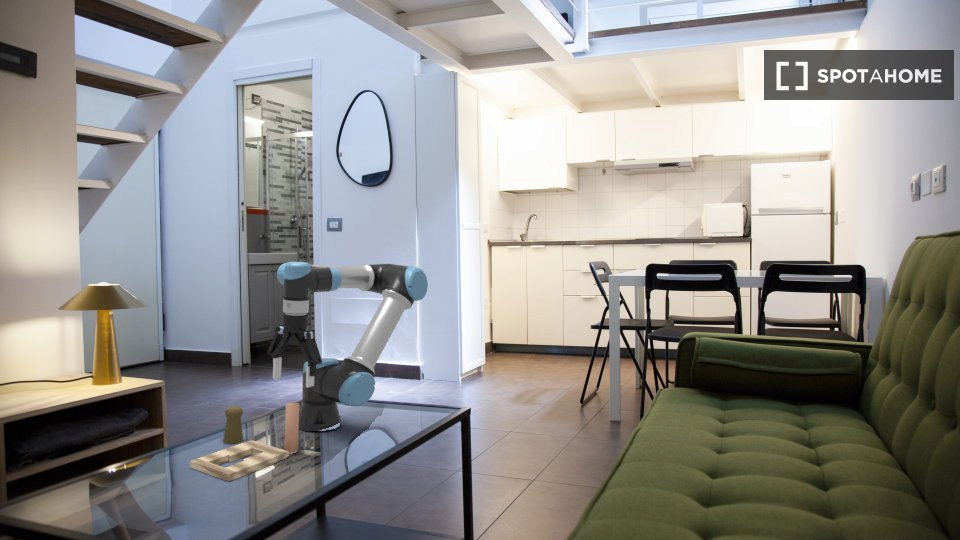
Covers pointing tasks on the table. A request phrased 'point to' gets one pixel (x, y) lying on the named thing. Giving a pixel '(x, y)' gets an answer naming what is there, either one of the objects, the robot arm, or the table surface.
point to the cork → (233, 425)
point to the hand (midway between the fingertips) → (293, 382)
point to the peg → (291, 427)
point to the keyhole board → (261, 459)
